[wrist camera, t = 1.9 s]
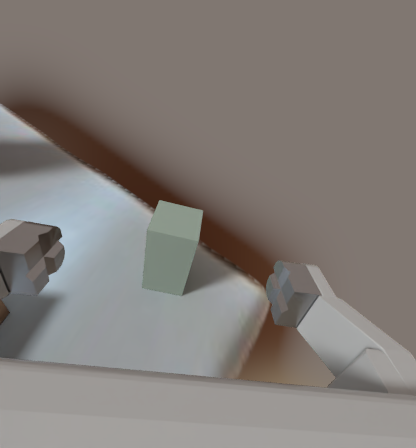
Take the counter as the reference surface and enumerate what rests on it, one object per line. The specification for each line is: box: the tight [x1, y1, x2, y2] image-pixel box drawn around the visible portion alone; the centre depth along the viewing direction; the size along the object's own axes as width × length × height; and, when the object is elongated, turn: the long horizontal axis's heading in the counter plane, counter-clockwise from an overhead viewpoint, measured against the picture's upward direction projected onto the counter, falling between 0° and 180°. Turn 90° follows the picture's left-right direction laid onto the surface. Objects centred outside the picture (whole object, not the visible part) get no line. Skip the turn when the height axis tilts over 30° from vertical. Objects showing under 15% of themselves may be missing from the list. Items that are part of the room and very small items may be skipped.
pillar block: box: [142, 200, 203, 296], centre depth 27 cm, size 5×5×10 cm
